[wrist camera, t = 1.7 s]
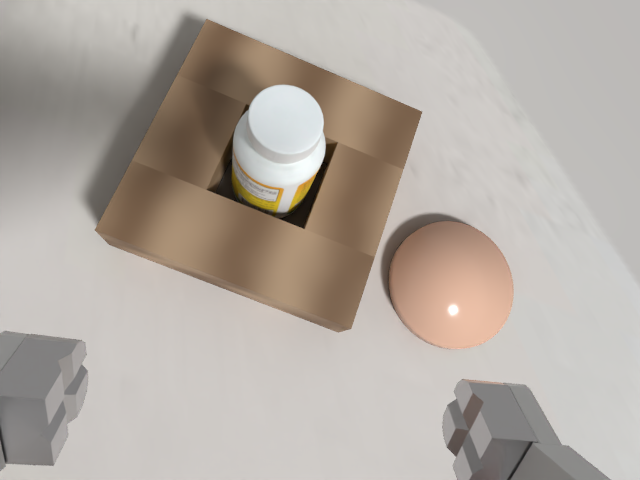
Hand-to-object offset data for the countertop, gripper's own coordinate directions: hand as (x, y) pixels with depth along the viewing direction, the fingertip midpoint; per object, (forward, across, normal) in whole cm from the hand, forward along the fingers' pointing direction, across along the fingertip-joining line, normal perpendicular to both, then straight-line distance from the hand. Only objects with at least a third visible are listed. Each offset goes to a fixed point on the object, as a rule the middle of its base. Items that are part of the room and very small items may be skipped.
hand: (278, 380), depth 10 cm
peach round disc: (+20, -13, +10) cm, 26 cm away
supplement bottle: (+24, 0, +6) cm, 25 cm away
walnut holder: (+24, 0, +6) cm, 24 cm away
